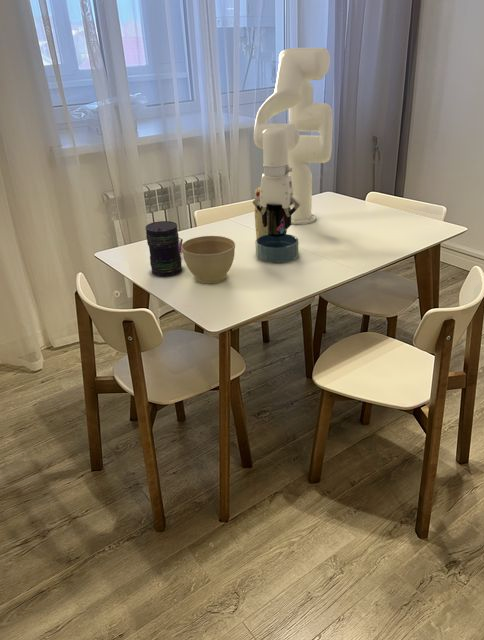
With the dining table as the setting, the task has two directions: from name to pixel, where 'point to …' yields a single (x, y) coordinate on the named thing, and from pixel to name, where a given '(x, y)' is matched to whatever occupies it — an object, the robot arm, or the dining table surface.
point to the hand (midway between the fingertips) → (276, 226)
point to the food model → (259, 219)
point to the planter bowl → (209, 257)
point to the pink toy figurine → (180, 245)
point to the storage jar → (164, 248)
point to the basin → (277, 248)
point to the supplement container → (275, 220)
